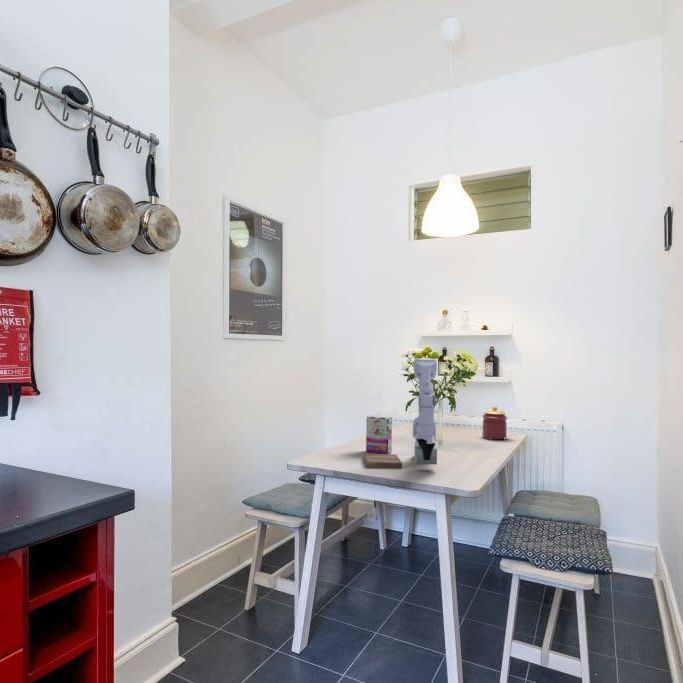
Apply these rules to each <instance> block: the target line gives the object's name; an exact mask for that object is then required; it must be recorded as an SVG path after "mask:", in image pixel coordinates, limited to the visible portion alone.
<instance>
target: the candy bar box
mask: <svg viewBox="0 0 683 683" xmlns="http://www.w3.org/2000/svg"><path fill="white" fill-rule="evenodd" d="M365 433H366V436H365V438H366V439H365V440H366V441H365V444H366V445H365V452H368V453H372V454H391V453H392V451H393V450H392V445H393V442H392V441H393V440H392V439H393V437H392V436H393V434H392V433H393V417H391V416H390V417H389V416H377V415H369V416H368V415H367V416H366V432H365Z"/></svg>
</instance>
